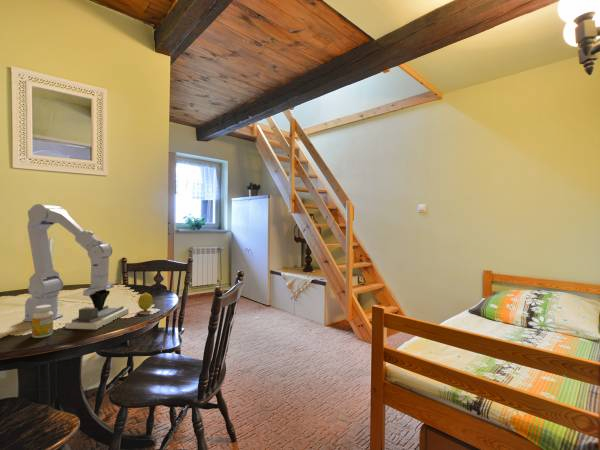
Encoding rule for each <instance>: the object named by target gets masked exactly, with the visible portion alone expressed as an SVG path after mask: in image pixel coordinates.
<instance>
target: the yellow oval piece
mask: <svg viewBox="0 0 600 450" xmlns="http://www.w3.org/2000/svg"><path fill="white" fill-rule="evenodd" d="M137 303H138V308H140V309H141V310H143V311H144V312H146V311H147V310H149V309H150V308H151V307H152V305H153V296H152V295H151V294H150V293H149V292H144V293H142V294H140V295H139V297H138V301H137Z"/></svg>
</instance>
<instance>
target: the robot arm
mask: <svg viewBox="0 0 600 450" xmlns="http://www.w3.org/2000/svg"><path fill="white" fill-rule="evenodd" d="M27 215H28V223H27V232H28V233H27V234H28V238H29V244H30V245H29V246H30V250H31V256H32V262H33V268H34V273H33V274H32V275H31V276H30V277H29V279H28V280H29V284H28V290H27V291H28V294H29V295H30V296H29V297H28V298H27V299H26V300H25V302H24V303H25V304H24V318H23V319H22V322H32V316H33V314H35V313H36V312H35V308H36V307H37V306H40V305H51V310H50V311H52V312H53V320H56V319H58V318H61V317H63V316H64V314H58V311H59V307H58V302H59V301H58V300H59V294H60V291H61V290H63V288H64V282H63V280H62V278H61V276H60V273H59V272H58V271H57V270H55V269H54V265H53V260H52V254H51V247H50V241H49V235H48V230H49V228H51V227H52V226H53V225H55V224H59V225H60V226H61V227H63V228H64V229H66V230H67V231H68V233H71V234H72V235H73V236H74V240H75V242H76V243H78V244H79V245H80V246H81V247H82V248H83V249H84V250H85V251H87V257H88V258H89V259H90V264H91V265H90V287H88V288H86V289H85V290H82V291H83V293H82V296H83V297H85V296H86V297H89V298H90V300H91V301H92V304H93V308H98V311H101V310H102V309H103V307H104V306H105V302H106V301H107V298H108V296H109V294H110V290H109V289H114V282H109V275H110V273H109V268H110V265H109V264H110V257H111V256H112V255H113V247H112V246H111V245H110V243H106V242H103V241H102V239H99V238H98V237H97V236H96V235H94V234H95V233H94V232H93V231H91V230H88V229H87V230H86V229H85V230H84V229H83V228H82V227H81V225H79V224H78V222H76V221H75V220H74V218H72V217H71V216H70V215H69V214H68V211H67V210H66V209H64V208H63V206H61V205H58V204H57V205H51V204H50V205H49V204H41V203H37V204H34V205H32V207H30V209H28V210H27Z"/></svg>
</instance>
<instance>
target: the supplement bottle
mask: <svg viewBox="0 0 600 450" xmlns="http://www.w3.org/2000/svg"><path fill="white" fill-rule="evenodd" d="M50 310H51V305H40V306H37V307H36V308H35V312H36V313H35V314H33V316H32V321H31V327H32V328H31V337H32V338H36V339H38V338H39V339H41V338H46V337H49V336H51V335H53V333H54V319H53V312H52V311H50Z"/></svg>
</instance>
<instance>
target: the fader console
mask: <svg viewBox="0 0 600 450" xmlns="http://www.w3.org/2000/svg"><path fill="white" fill-rule="evenodd" d="M128 314H129V307H128V308H127V307H124V305H121V306H119V307H109V305H104V306H103V309H102V310H101V311H98V317H96V318H94V319H92V320H90V321H79V316H77V317H75V318H72V319H70V320H69V321H66V322H65V329H70V330H72V329H74V330H75V329H76V330H98V329H99V328H102V327H103V325H104V326H105V325H108V324H109V323H111V322H113V320H114V321H116V320H117V318H118V319H119V317H120V318H121V317H124V316H125V315H128ZM115 319H116V320H115Z"/></svg>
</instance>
